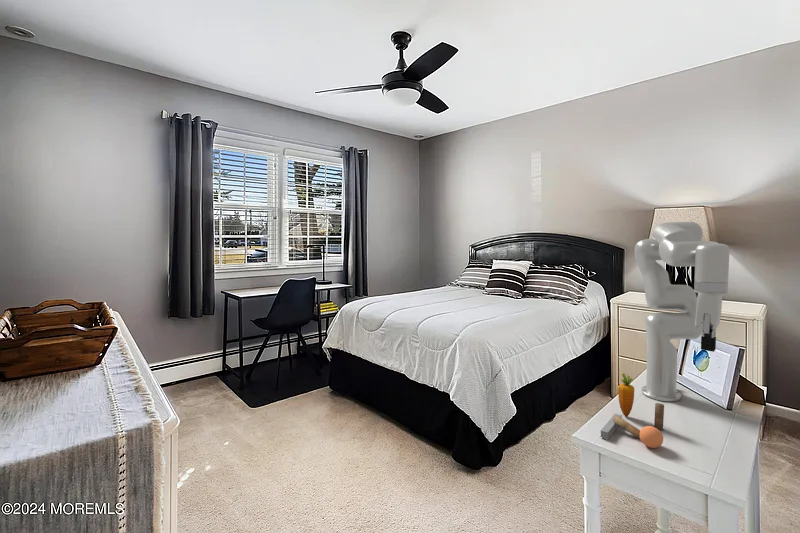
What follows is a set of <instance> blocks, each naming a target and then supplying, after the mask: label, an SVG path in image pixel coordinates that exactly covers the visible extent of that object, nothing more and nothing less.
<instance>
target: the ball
mask: <svg viewBox="0 0 800 533" xmlns="http://www.w3.org/2000/svg"><path fill="white" fill-rule="evenodd" d="M639 430H640V433H639V436H640V437H639V439H640V441H641V442H642V444H643V445H645V446H646V447H648V448H651V449H657V448H660V447H661V446H662V444H663V443H664V436H663V433H662V432H661V431H660V430H658V429H657V428H655V427H654V426H652V425H646V426H643V427H642V428H641V429H639Z"/></svg>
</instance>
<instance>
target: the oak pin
mask: <svg viewBox="0 0 800 533" xmlns="http://www.w3.org/2000/svg"><path fill="white" fill-rule="evenodd" d="M613 422H615V423H616V424H618V425H619V426H618V427H621V428H622V429H624V430H625V431H626V432H628V433H629V434H631V435H632V436H634V437H635V438H637V439H640V436H639V433H640V430H641V429H639V428H637V427H636V426H634V425H633V424H631V423H630V422H628V421H626V420H625V419H624V418H623V417H622V418H621V417H619V416H618V415H616V416H615V417H614V419H613Z"/></svg>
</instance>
